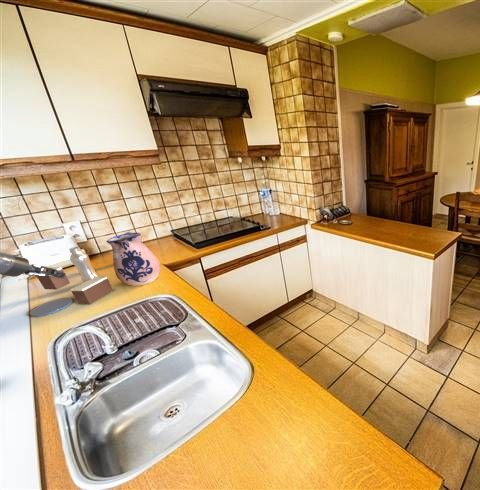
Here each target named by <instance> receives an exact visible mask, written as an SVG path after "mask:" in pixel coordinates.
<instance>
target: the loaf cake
mask: <svg viewBox="0 0 480 490" xmlns="http://www.w3.org/2000/svg"><path fill="white" fill-rule="evenodd" d="M69 290H70V292H71V293H72V295H73V297H74V298H75V300H76V302H77V303H78V305H91V304H93V303H95V302H96V301H98V300H101V298H103V297H105V296H107V295H108V294H110V293H112V292H114V288H113V287H112V284H111V283H110V281H109V279H108V277H107V276H100V277H94V278H92V279H90V280H88V281H86V282H84V283H83V282H82V283H80V284H78V285H76V286H74V287H72V288H70V289H69Z"/></svg>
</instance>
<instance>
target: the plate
mask: <svg viewBox="0 0 480 490" xmlns="http://www.w3.org/2000/svg"><path fill="white" fill-rule="evenodd" d="M73 302H74V300H73V298H72V297H61V298H56V299H52V300H50V301H47V302H45V303H42V304H40V305H38V306H36V307H34V308H33V309H31V310H30V312H29V316H30V317H32V318H38V317H39V318H40V317H44V316H47V315H51V314H54V313H57V312H59V311H62V310H63V309H66V308H67V307H69V306H70V305H72V303H73Z"/></svg>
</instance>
